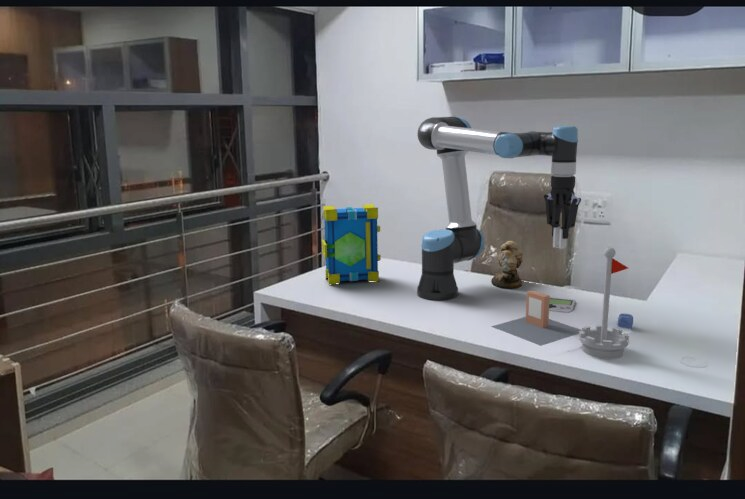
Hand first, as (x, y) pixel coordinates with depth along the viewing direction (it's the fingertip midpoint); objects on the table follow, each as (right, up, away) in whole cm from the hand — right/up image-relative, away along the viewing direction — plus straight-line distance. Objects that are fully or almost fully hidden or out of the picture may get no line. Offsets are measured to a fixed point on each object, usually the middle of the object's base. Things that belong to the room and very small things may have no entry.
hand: (559, 247), depth 205 cm
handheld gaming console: (+3, -21, +12) cm, 24 cm away
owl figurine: (-8, -14, +42) cm, 45 cm away
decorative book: (-69, -13, +48) cm, 85 cm away
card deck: (-9, -24, -7) cm, 27 cm away
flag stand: (+4, -30, -28) cm, 41 cm away
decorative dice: (+18, -25, -10) cm, 32 cm away
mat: (-10, -26, -11) cm, 30 cm away
